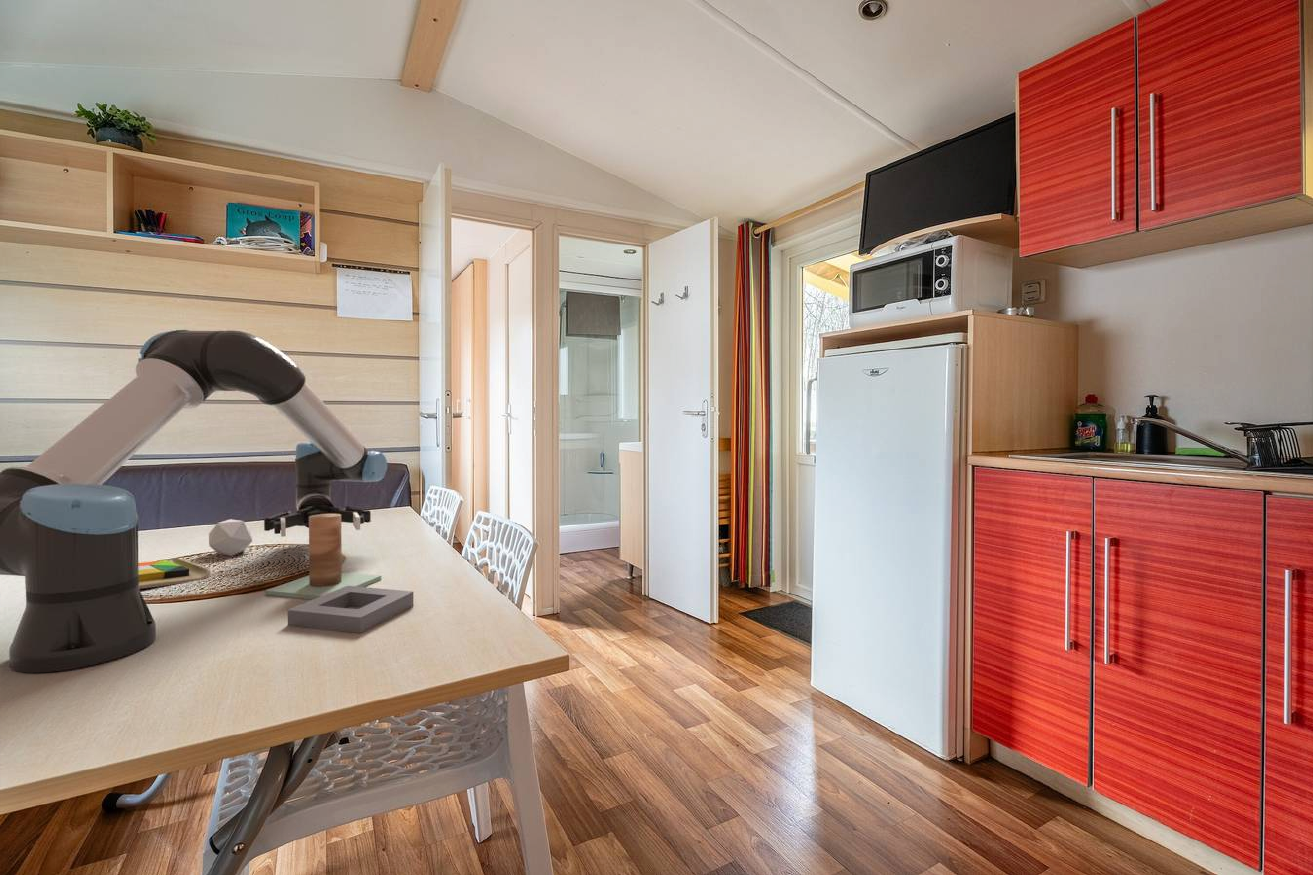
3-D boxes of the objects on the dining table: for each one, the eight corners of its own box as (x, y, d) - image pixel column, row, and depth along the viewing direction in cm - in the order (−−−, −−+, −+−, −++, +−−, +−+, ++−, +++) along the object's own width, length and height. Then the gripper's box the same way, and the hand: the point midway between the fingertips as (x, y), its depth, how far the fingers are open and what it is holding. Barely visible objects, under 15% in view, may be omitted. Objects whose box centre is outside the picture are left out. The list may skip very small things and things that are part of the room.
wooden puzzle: (213, 579, 123) (213, 562, 122) (90, 604, 107) (89, 584, 107) (178, 566, 132) (177, 550, 132) (60, 587, 116) (59, 569, 116)
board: (330, 601, 109) (330, 596, 109) (265, 594, 112) (265, 590, 112) (381, 579, 122) (381, 575, 122) (322, 574, 125) (322, 570, 125)
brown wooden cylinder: (327, 587, 114) (327, 519, 113) (302, 585, 115) (301, 517, 114) (348, 579, 119) (347, 514, 119) (324, 577, 120) (323, 513, 120)
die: (261, 554, 143) (259, 518, 147) (236, 544, 135) (234, 506, 140) (227, 567, 142) (225, 530, 147) (199, 557, 135) (198, 519, 139)
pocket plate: (360, 633, 94) (360, 617, 94) (287, 625, 97) (287, 609, 97) (413, 605, 107) (413, 591, 107) (347, 599, 110) (347, 585, 110)
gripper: (373, 521, 149) (387, 538, 132) (252, 531, 136) (249, 551, 118) (373, 491, 149) (387, 504, 131) (252, 498, 136) (248, 513, 118)
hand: (321, 526), depth 125 cm, fingers open, 13 cm apart
